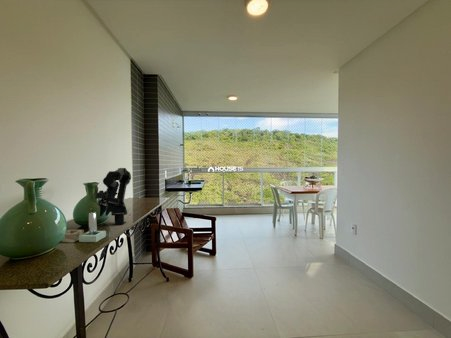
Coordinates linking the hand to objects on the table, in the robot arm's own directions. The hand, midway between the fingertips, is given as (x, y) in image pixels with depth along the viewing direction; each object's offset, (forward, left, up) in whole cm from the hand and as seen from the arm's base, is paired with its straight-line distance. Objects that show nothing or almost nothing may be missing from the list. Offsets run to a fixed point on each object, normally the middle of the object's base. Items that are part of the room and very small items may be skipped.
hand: (103, 215), depth 128 cm
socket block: (+10, 0, -10) cm, 14 cm away
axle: (+10, 0, -10) cm, 14 cm away
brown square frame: (+11, -11, -10) cm, 18 cm away
